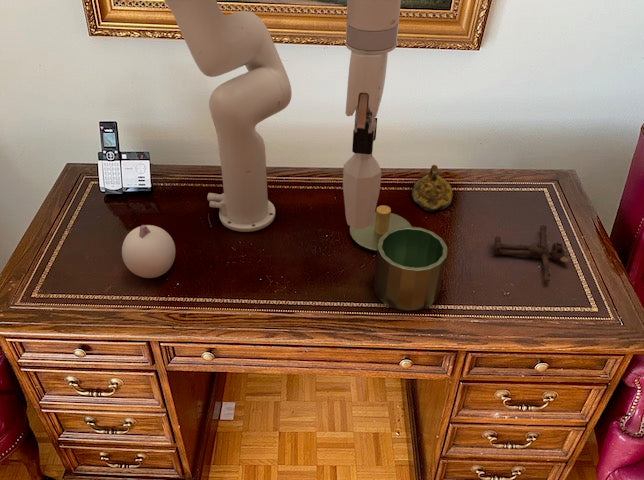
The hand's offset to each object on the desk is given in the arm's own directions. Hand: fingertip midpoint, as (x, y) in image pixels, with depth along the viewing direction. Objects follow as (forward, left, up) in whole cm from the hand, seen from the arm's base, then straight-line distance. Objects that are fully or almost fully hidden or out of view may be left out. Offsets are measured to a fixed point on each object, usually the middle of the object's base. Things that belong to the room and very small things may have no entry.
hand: (364, 145), depth 105 cm
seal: (+13, +33, -31) cm, 47 cm away
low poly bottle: (0, 0, -16) cm, 16 cm away
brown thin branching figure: (+34, +14, -31) cm, 48 cm away
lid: (+4, +16, -30) cm, 34 cm away
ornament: (-41, -5, -31) cm, 51 cm away
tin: (+10, 0, -30) cm, 32 cm away
